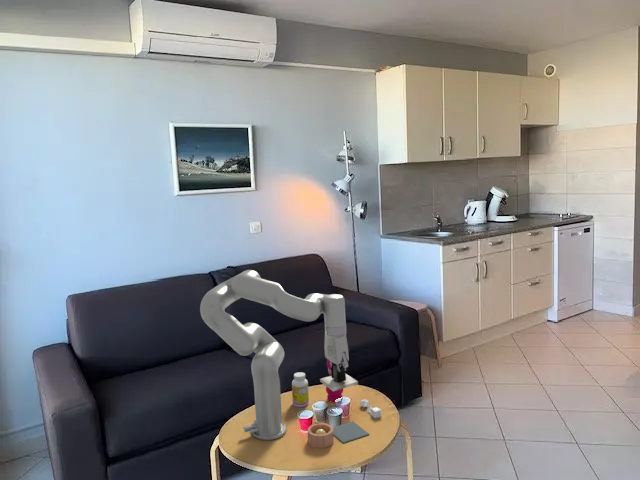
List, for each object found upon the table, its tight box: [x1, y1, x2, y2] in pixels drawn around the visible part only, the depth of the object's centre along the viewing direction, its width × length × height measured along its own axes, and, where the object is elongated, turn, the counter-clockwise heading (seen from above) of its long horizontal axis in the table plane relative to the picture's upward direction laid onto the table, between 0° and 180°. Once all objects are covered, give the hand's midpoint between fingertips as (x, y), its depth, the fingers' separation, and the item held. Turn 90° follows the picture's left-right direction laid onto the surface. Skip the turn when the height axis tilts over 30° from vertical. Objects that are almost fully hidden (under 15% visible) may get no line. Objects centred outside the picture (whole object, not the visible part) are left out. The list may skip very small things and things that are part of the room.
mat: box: [332, 420, 370, 444], centre depth 194 cm, size 11×11×1 cm
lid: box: [319, 364, 359, 391], centre depth 189 cm, size 10×10×6 cm
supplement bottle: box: [291, 371, 310, 408], centre depth 217 cm, size 7×7×13 cm
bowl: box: [307, 422, 334, 449], centre depth 189 cm, size 9×9×4 cm
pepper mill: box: [325, 359, 344, 403], centre depth 220 cm, size 7×7×20 cm
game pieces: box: [359, 398, 382, 419], centre depth 210 cm, size 12×3×3 cm, turn 26°
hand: (338, 378), depth 189 cm, fingers closed on lid, 3 cm apart
